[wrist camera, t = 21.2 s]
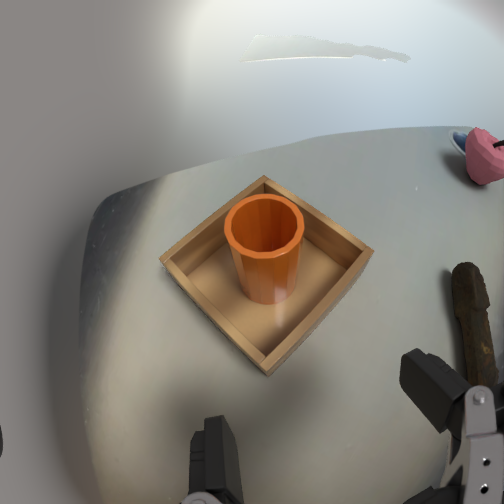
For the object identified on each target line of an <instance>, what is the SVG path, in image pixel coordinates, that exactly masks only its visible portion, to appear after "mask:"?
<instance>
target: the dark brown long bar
mask: <svg viewBox="0 0 504 504" xmlns="http://www.w3.org/2000/svg"><path fill="white" fill-rule="evenodd" d="M485 287H486V285H485V283H484V279H483V277H482V275H481V274H480V270H479V268H478V267H477V266H476V265H474V264H473V263H471V262H465V263H460V264H458V265H457V266H456V267H455V268H454V269H453V271H452V292H453V298H454V308H455V317H456V318H457V319H459V320H460V323H461V327H462V332H463V342H464V355H465V359H466V364H467V375H468V383H470V384H471V385H472V386H473V387H474V386H479V385H481V386H486V387H488V388H491V387H493V386H495V385H497V383H498V378H499V376H498V373H499V370H498V369H497V368H496V362H495V356H494V349H493V343H492V337H491V332H490V326H489V321H488V312H487V311H486V309H487V308H488V307H489V306H490V302H489V297H488V294H487V291H486V288H485Z"/></svg>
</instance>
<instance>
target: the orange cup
mask: <svg viewBox="0 0 504 504" xmlns="http://www.w3.org/2000/svg"><path fill="white" fill-rule="evenodd" d="M304 229H305V227H304V219H303V215H302V214H301V212H300V210H299V209H298V207H297V206H296V205H295V204H294V203H292V202H291V201H289V200H288V199H286V198H284V197H281V196H277V195H274V194H256V195H253V196H250V197H247V198H244V199H242V200H241V201H240V202H238V203H237V204H236V205H234V206H233V207H232V208H231V210H230V211H229V213H228V215H227V217H226V218H225V225H224V234H225V237H226V240H227V244H228V247H229V250H230V253H231V257H232V260H233V263H234V267H235V270H236V273H237V276H238V280H239V283H240V285H241V288H242V290H243V292H244V293H245V295H246V296H247V297H248V298H250V299H251V300H252V301H254V302H256V303H259V304H264V305H272V304H277V303H280V302H282V301H284V300H285V299H287V298H288V297H289V296H290V295H291V294H292V292H293V291H294V289H295V287H296V284H297V280H298V274H299V267H300V259H301V252H302V245H303V237H304Z"/></svg>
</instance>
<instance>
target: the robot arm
mask: <svg viewBox="0 0 504 504" xmlns="http://www.w3.org/2000/svg"><path fill="white" fill-rule="evenodd" d="M399 381H400V385H401V388H402V389H403V391H404V392H405V393H406V394H407V395H408V397H409V398H410V399H411V400H412V401H413V402H414V404H415V405H416V406H417V407H418V408H419V409H420V411H421V412H422V413H423V414H424V415H425V417H426V418H427V419H428V420H429V421H430V422H431V424H432V425H433V426H434V427H435V428H436V430H437V431H438V432H439V433H442V432H443V431H445V430H446V429H448V430H449V431H450V433H449V442H448V453H447V461H446V468H445V472H444V475H443V477H442V480H441V483H440V488H437V489H433V488H432V486H430V487H429V488H427V489H425V490H424V491H422V492H420V493H419V494H417V495H415V496H413V497H412V498H410V499H408V500H407V501H406V502H404V503H403V504H504V491H503V481H504V381H503V382H502V383H500V384H497V385H495V386H493V387H491V388H488V387H486V386H481V385H479V386H474V387H473V386H472V385H471V384H470V383H468V382H467V381H466V380H465V379H464V378H463V377H462V376H460V375H459V374H458V373H457V372H456V371H455V370H454V369H451V367H450V366H449V365H448V364H446V363H445V362H444V361H443V360H442V359H441V358H440V357H438V356H435V355H432V354H430V353H429V354H427V355H426V354H425V353H423V352H422V351H421V350H420V349H418V348H416V349H414V350H412V351H410V352H408V353H406V354H404V355H403V356H402V358H401V368H400V377H399ZM190 452H191V453H190V467H189V492H188V495H187V496H186V497H185V498H184V499H183V501H182V502H181V503H180V504H244V499H243V492H242V485H241V477H240V469H239V461H238V452H237V445H236V441H235V438H234V435H233V433H232V431H231V429H230V427H229V425H228V423H227V422H226V420H225V418H224V416H223V415H220V416H214V417H209V418H205V420H204V430H202V431H196V432H195V434H194V436H193V438H192V440H191V444H190Z"/></svg>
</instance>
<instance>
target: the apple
mask: <svg viewBox="0 0 504 504" xmlns="http://www.w3.org/2000/svg"><path fill="white" fill-rule="evenodd" d="M466 163H467V164H466V168H467V172H468V174H469V175H470V178H471V179H472V180H474V181H475V182H476V183H478V184H479V185H481V184H484V185H485V184H488V183H491V182H493V181H497V180H500V179H502V178H504V140H502V141H499V140H498V139H496V138H495V137H493V136H491V135H490V134H489V133H488V132H487V131H486V130H484V129H483V130H482V129H479V128H477V127H475V128H474V129H473V130H472V131H471V132H469V134H468V136H467V138H466Z"/></svg>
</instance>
